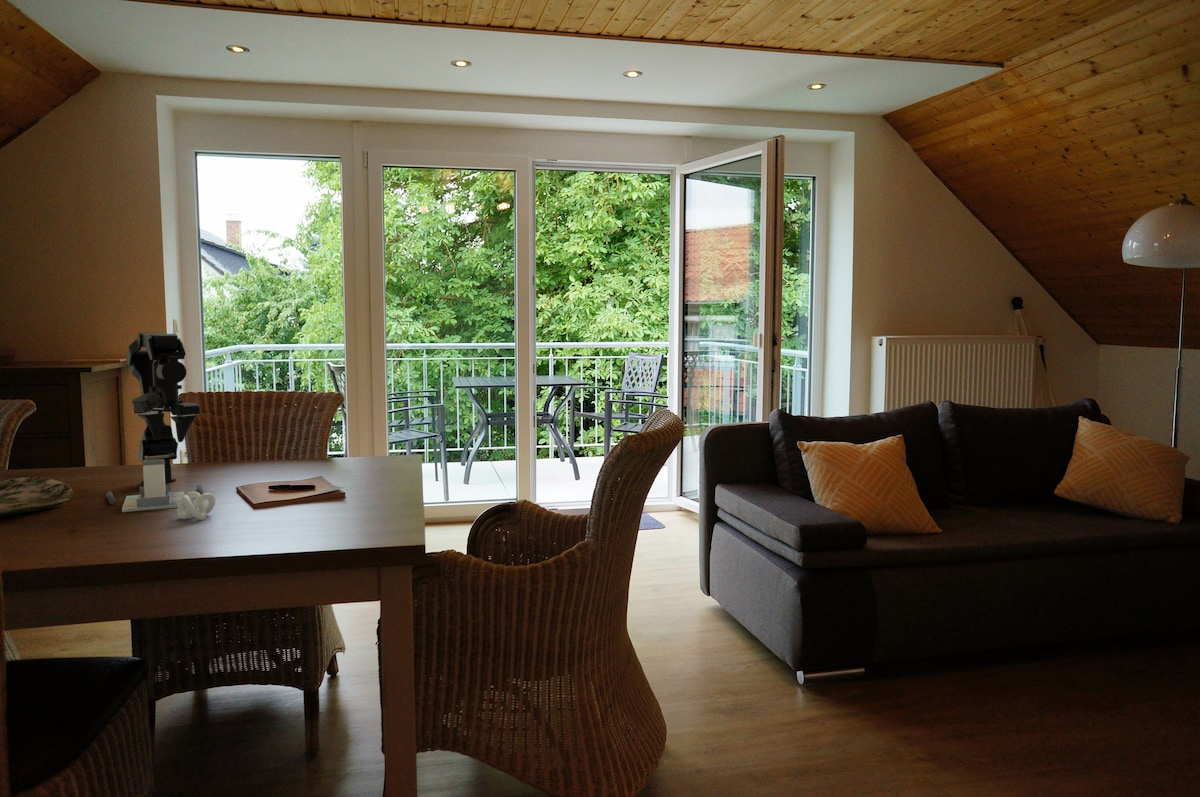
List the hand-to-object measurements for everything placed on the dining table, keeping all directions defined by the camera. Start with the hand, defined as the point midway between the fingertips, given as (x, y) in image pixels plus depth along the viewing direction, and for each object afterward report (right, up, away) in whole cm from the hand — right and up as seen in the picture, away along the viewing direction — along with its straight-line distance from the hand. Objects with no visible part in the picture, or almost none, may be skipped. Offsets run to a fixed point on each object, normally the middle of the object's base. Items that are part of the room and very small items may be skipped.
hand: (168, 441), depth 221 cm
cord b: (-8, -14, -12) cm, 20 cm away
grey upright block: (+2, -13, -11) cm, 17 cm away
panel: (+4, -15, -14) cm, 21 cm away
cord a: (+10, -14, -3) cm, 17 cm away
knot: (+22, -16, -29) cm, 40 cm away
